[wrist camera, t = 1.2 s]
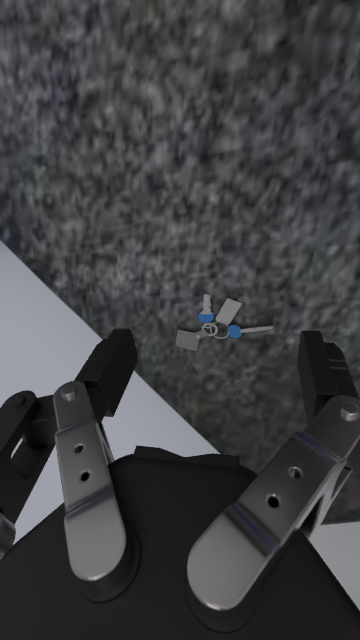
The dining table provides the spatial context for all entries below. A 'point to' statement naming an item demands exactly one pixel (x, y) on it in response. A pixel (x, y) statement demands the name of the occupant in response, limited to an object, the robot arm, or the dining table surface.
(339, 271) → the dining table surface
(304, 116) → the dining table surface
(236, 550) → the robot arm
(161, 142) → the dining table surface
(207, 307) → the key chain
